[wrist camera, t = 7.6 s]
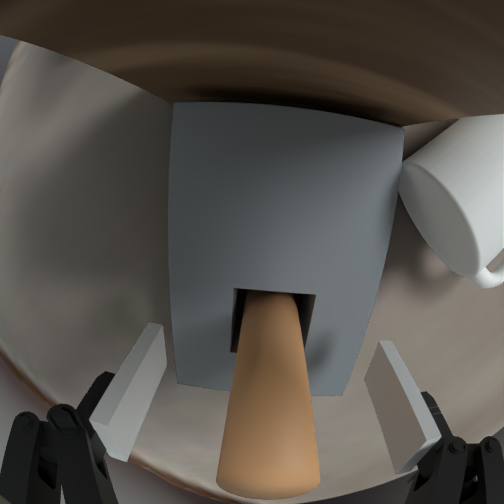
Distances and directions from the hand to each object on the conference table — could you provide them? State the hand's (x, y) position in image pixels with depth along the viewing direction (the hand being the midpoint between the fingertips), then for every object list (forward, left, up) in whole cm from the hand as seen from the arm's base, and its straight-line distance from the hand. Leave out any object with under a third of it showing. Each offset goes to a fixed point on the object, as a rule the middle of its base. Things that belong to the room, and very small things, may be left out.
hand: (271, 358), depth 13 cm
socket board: (-3, 0, -7) cm, 8 cm away
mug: (-9, +14, -7) cm, 18 cm away
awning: (-11, 0, -7) cm, 13 cm away
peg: (0, 0, -7) cm, 7 cm away
